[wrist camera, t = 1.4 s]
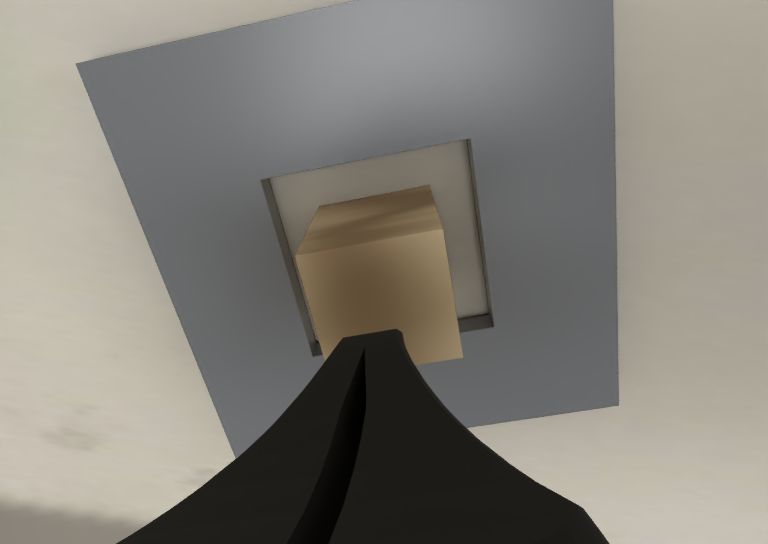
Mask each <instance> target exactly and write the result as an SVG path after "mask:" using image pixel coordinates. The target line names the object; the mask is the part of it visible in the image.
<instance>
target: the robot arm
mask: <svg viewBox="0 0 768 544" xmlns="http://www.w3.org/2000/svg"><path fill="white" fill-rule="evenodd" d="M117 544H609V542H608V541H607V540H606V538H605V537H604V535H603V534H602V533H601V531H600V530H599V529H598V527H597V526H596V525H595V523H594V522H593V521H592V519H591V518H590V517H589V515H588V514H587V513H586V511H585V510H584V509H583V508H582V507H580V506H579V505H577V504H575V503H573V502H571V501H570V500H568V499H566V498H564V497H562V496H561V495H559V494H557V493H555V492H553V491H552V490H550V489H548V488H546V487H544V486H543V485H541V484H539V483H537V482H536V481H534V480H533V479H531V478H530V477H528V476H527V475H525V474H524V473H522V472H521V471H519V470H518V469H516V468H515V467H513V466H512V465H510V464H509V463H508V462H507V461H505V460H504V459H503V458H502V457H500V456H499V455H498V454H497V453H495V452H494V451H493V450H491V449H490V448H489V447H488V446H486V445H485V444H484V443H483V442H481V441H480V440H479V439H478V438H477V437H475V436H474V435H473V434H472V433H471V432H470V431H469V430H468V429H467V428H466V427H465V426H464V425H463V424H462V423H461V422H460V421H459V420H458V419H457V418H456V417H455V416H454V415H453V414H452V413H451V412H450V411H449V410H448V409H447V408H446V407H445V405H444V404H443V403H442V402H441V401H440V400H439V398H438V397H437V396H436V395H435V393H434V392H433V391H432V389H431V388H430V387H429V386H428V384H427V383H426V381H425V380H424V379H423V377H422V375H421V374H420V372H419V371H418V369H417V368H416V366H415V364H414V363H413V361H412V359H411V357H410V355H409V353H408V351H407V349H406V347H405V342H404V338H403V333H402V332H401V331H399V330H398V329H391V330H385V331H379V332H373V333H367V334H361V335H355V336H349V337H343V338H342V339H341V340H340V342H339V343H338V344H337V346H336V347H335V348H334V350H333V351H332V352H331V354H330V355H329V357H328V358H327V359H326V361H325V362H324V363H323V365H322V366H321V367H320V369H319V370H318V371H317V373H316V374H315V375H314V377H313V378H312V379H311V381H310V382H309V383H308V384H307V386H306V387H305V388H304V390H303V391H302V392H301V393H300V394H299V395H298V397H297V398H296V399H295V400H294V401H293V402H292V403H291V405H290V406H289V407H288V408H287V409H286V410H285V411H284V413H283V414H282V415H281V416H280V417H279V418H278V419H277V420H276V421H275V422H274V424H273V425H272V426H271V427H270V428H269V429H268V430H267V431H266V432H265V433H264V434H263V435H262V436H260V437H259V438H258V439H257V440H256V441H255V442H254V443H253V444H252V445H251V446H250V447H249V448H248V449H247V450H246V451H244V452H243V453H242V454H241V455H240V456H239V457H238V458H236V459H235V460H234V461H233V462H231V463H230V464H229V465H228V466H227V467H225V468H224V469H223V470H222V471H220V472H219V473H218V474H217V475H215V476H214V477H213V478H212V479H210V480H209V481H208V482H207V483H205V484H204V485H203V486H202V487H201V488H199V489H198V490H196V491H195V492H194V493H192V494H191V495H190V496H188V497H187V498H185V499H184V500H183V501H181V502H180V503H178V504H177V505H176V506H174V507H173V508H171V509H170V510H168V511H167V512H165V513H164V514H162V515H161V516H159V517H158V518H156V519H155V520H153V521H152V522H150V523H149V524H147V525H146V526H144V527H143V528H141V529H140V530H138V531H136V532H135V533H133V534H132V535H130V536H128V537H127V538H125V539H123V540H122V541H120V542H118V543H117Z"/></svg>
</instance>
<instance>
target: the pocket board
mask: <svg viewBox="0 0 768 544" xmlns="http://www.w3.org/2000/svg"><path fill="white" fill-rule="evenodd" d="M76 66H77V68H78V71H79V73H80V76H81V78H82V81H83V83H84V86H85V88H86V91H87V93H88V96H89V98H90V100H91V103H92V105H93V108H94V110H95V113H96V115H97V118H98V120H99V123H100V125H101V128H102V130H103V132H104V135H105V137H106V140H107V142H108V145H109V147H110V150H111V152H112V155H113V157H114V160H115V162H116V165H117V167H118V169H119V172H120V174H121V177H122V179H123V182H124V184H125V187H126V189H127V192H128V194H129V197H130V199H131V201H132V204H133V206H134V209H135V211H136V214H137V216H138V219H139V221H140V224H141V226H142V229H143V231H144V234H145V236H146V238H147V241H148V243H149V246H150V248H151V251H152V253H153V256H154V258H155V261H156V263H157V266H158V268H159V271H160V273H161V275H162V278H163V280H164V283H165V285H166V288H167V290H168V293H169V295H170V298H171V300H172V303H173V305H174V307H175V310H176V312H177V315H178V317H179V320H180V322H181V325H182V327H183V330H184V332H185V335H186V337H187V340H188V342H189V344H190V347H191V349H192V352H193V354H194V357H195V359H196V362H197V364H198V367H199V369H200V372H201V374H202V377H203V379H204V381H205V384H206V386H207V389H208V391H209V394H210V396H211V399H212V401H213V404H214V406H215V409H216V411H217V413H218V416H219V418H220V421H221V423H222V426H223V428H224V431H225V433H226V436H227V438H228V441H229V443H230V446H231V448H232V450H233V453H234V455H235V458H238V457H239V456H240V455H241V454H242V453H243V452H244V451H246V450H247V449H248V448H249V447H250V446H251V445H252V444H253V443H254V442H255V441H256V440H257V439H258V438H259V437H260V436H262V435H263V434H264V433H265V432H266V431H267V430H268V429H269V428H270V427H271V426H272V425H273V424H274V422H275V421H276V420H277V419H278V418H279V417H280V416H281V415H282V414H283V413H284V411H285V410H286V409H287V408H288V407H289V406H290V405H291V403H292V402H293V401H294V400H295V399H296V398H297V397H298V395H299V394H300V393H301V392H302V391H303V390H304V388H305V387H306V386H307V384H308V383H309V382H310V381H311V379H312V378H313V377H314V375H315V374H316V373H317V371H318V370H319V369H320V367H321V366H322V365H323V363H324V362H325V360H324V357H323V353H322V350H321V346H320V343H316V341H315V337H314V334H313V330H312V327H311V323H310V320H309V316H308V313H307V310H306V306H305V303H304V299H303V296H302V292H301V289H300V285H299V282H298V278H297V275H296V271H295V268H294V265H293V261H292V258H291V254H290V251H289V247H288V244H287V240H286V237H285V233H284V230H283V227H282V223H281V220H280V216H279V213H278V209H277V206H276V202H275V199H274V195H273V192H272V189H271V185H270V182H269V178H272V177H277V176H282V175H287V174H292V173H297V172H303V171H308V170H313V169H318V168H323V167H328V166H333V165H338V164H343V163H348V162H353V161H358V160H363V159H368V158H373V157H379V156H384V155H389V154H394V153H399V152H404V151H409V150H414V149H419V148H424V147H429V146H434V145H439V144H444V143H449V142H455V141H460V140H465V139H467V144H468V152H469V160H470V167H471V175H472V183H473V191H474V199H475V206H476V214H477V222H478V230H479V238H480V246H481V253H482V261H483V269H484V277H485V285H486V292H487V300H488V308H489V315H484V316H478V317H472V318H466V319H460V320H457V321H458V327H459V334H460V340H461V346H462V353H463V358H457V359H451V360H445V361H439V362H432V363H426V364H420V365H415V366H416V368H417V369H418V371H419V372H420V374H421V375H422V377H423V379H424V380H425V381H426V383H427V384H428V386H429V387H430V388H431V389H432V391H433V392H434V393H435V395H436V396H437V397H438V398H439V400H440V401H441V402H442V403H443V404H444V405H445V407H446V408H447V409H448V410H449V411H450V412H451V413H452V414H453V415H454V416H455V417H456V418H457V419H458V420H459V421H460V422H461V423H462V424H463V425H464V426H465V427H466V428H469V427H476V426H483V425H489V424H496V423H503V422H510V421H517V420H523V419H530V418H537V417H544V416H551V415H557V414H564V413H571V412H578V411H585V410H591V409H598V408H605V407H612V406H619V386H618V314H617V241H616V169H615V96H614V23H613V0H355V1H350V2H346V3H342V4H337V5H333V6H328V7H324V8H319V9H315V10H311V11H306V12H302V13H297V14H293V15H289V16H284V17H280V18H275V19H271V20H266V21H262V22H258V23H253V24H249V25H244V26H240V27H235V28H231V29H227V30H222V31H218V32H213V33H209V34H204V35H200V36H196V37H191V38H187V39H182V40H178V41H173V42H169V43H165V44H160V45H156V46H151V47H147V48H143V49H138V50H134V51H129V52H125V53H120V54H116V55H112V56H107V57H103V58H98V59H94V60H89V61H85V62H81V63H76Z"/></svg>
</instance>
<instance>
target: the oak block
mask: <svg viewBox="0 0 768 544" xmlns="http://www.w3.org/2000/svg"><path fill="white" fill-rule="evenodd" d="M295 259H296V262H297V266H298V269H299V273H300V276H301V280H302V283H303V287H304V290H305V294H306V297H307V301H308V304H309V308H310V311H311V315H312V318H313V322H314V325H315V329H316V332H317V336H318V339H319V343H320V346H321V350H322V353H323V357H324V360H325V361H326V359H327V358H328V357H329V355H330V354H331V352H332V351H333V350H334V348H335V347H336V346H337V344H338V343H339V342H340V340H341V339H342V338H343V337H349V336H355V335H361V334H367V333H373V332H379V331H385V330H391V329H398V330H399V331H401V332H402V333H403V338H404V342H405V347H406V349H407V351H408V353H409V355H410V357H411V359H412V361H413V363H414V364H415V365H420V364H426V363H432V362H439V361H445V360H451V359H457V358H463V353H462V346H461V340H460V334H459V327H458V321H457V315H456V308H455V302H454V296H453V289H452V283H451V277H450V270H449V264H448V258H447V251H446V245H445V239H444V232H443V227H442V224H441V221H440V218H439V215H438V212H437V208H436V205H435V202H434V199H433V196H432V193H431V189H430V186H429V185H428V186H423V187H417V188H412V189H407V190H402V191H396V192H391V193H386V194H381V195H376V196H370V197H365V198H360V199H355V200H349V201H344V202H339V203H334V204H328V205H323V206H319V208H318V210H317V212H316V214H315V216H314V218H313V220H312V222H311V224H310V226H309V228H308V230H307V232H306V234H305V236H304V238H303V240H302V242H301V244H300V246H299V248H298V250H297V252H296V254H295Z"/></svg>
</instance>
